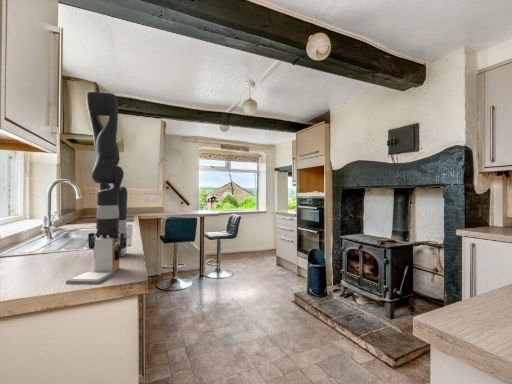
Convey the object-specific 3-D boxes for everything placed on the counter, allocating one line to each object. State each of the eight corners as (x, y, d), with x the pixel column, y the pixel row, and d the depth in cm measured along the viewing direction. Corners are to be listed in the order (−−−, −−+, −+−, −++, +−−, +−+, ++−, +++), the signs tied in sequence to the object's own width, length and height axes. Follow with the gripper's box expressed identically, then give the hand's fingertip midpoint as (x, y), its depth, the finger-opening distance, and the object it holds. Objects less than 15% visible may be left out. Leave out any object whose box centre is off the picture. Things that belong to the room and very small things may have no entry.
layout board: (84, 274, 94) (84, 271, 94) (114, 275, 94) (114, 272, 94) (66, 283, 85) (66, 279, 85) (98, 283, 85) (98, 280, 85)
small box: (112, 274, 95) (112, 239, 96) (93, 275, 94) (94, 239, 94) (119, 267, 103) (120, 235, 103) (102, 268, 102) (102, 235, 102)
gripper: (131, 216, 103) (130, 257, 102) (95, 216, 103) (95, 257, 103) (120, 218, 95) (120, 262, 95) (82, 217, 95) (82, 262, 95)
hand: (107, 259), depth 99 cm, fingers closed on small box, 7 cm apart
